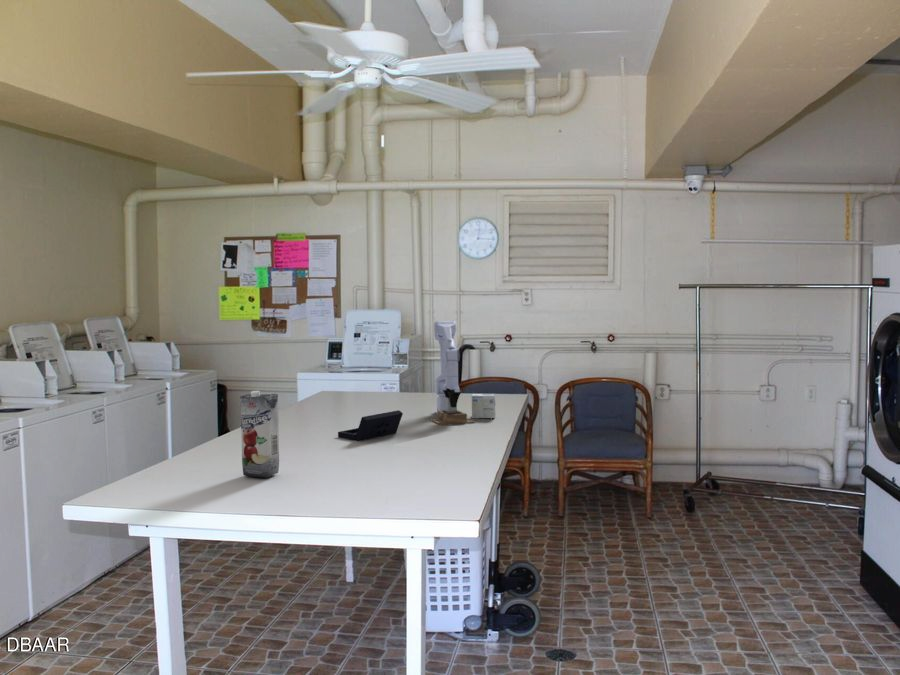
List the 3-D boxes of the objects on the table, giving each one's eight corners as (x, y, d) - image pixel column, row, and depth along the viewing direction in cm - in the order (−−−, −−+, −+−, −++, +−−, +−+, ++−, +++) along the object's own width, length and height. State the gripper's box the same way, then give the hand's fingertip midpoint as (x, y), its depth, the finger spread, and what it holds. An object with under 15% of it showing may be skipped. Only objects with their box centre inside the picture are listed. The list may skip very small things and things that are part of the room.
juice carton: (255, 470, 240) (253, 388, 239) (283, 472, 237) (281, 389, 235) (238, 476, 232) (236, 391, 230) (266, 479, 228) (264, 392, 227)
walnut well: (430, 420, 332) (429, 411, 332) (463, 417, 337) (462, 408, 337) (440, 425, 319) (440, 415, 319) (474, 422, 324) (474, 413, 324)
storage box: (375, 430, 310) (374, 406, 309) (403, 435, 300) (402, 410, 299) (338, 438, 294) (337, 413, 293) (366, 443, 284) (365, 417, 283)
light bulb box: (495, 416, 341) (495, 393, 340) (495, 419, 334) (494, 395, 333) (472, 416, 342) (472, 393, 341) (471, 419, 335) (471, 395, 334)
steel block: (445, 412, 329) (445, 397, 329) (453, 411, 330) (453, 396, 330) (448, 413, 325) (448, 398, 325) (456, 413, 327) (456, 397, 326)
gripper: (437, 374, 332) (438, 404, 333) (448, 378, 319) (449, 409, 320) (452, 374, 335) (452, 403, 336) (464, 377, 321) (464, 408, 322)
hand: (451, 406), depth 328 cm, fingers closed on steel block, 4 cm apart
